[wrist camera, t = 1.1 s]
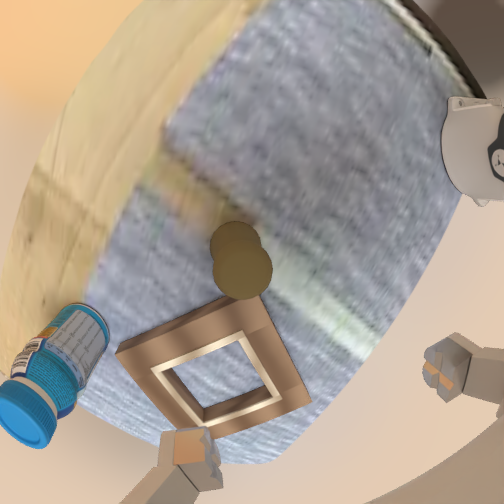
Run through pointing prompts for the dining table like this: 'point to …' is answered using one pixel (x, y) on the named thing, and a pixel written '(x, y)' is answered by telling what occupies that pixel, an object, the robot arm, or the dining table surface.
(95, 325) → the beverage bottle
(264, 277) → the olive peg
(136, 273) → the dining table surface
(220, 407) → the socket board
